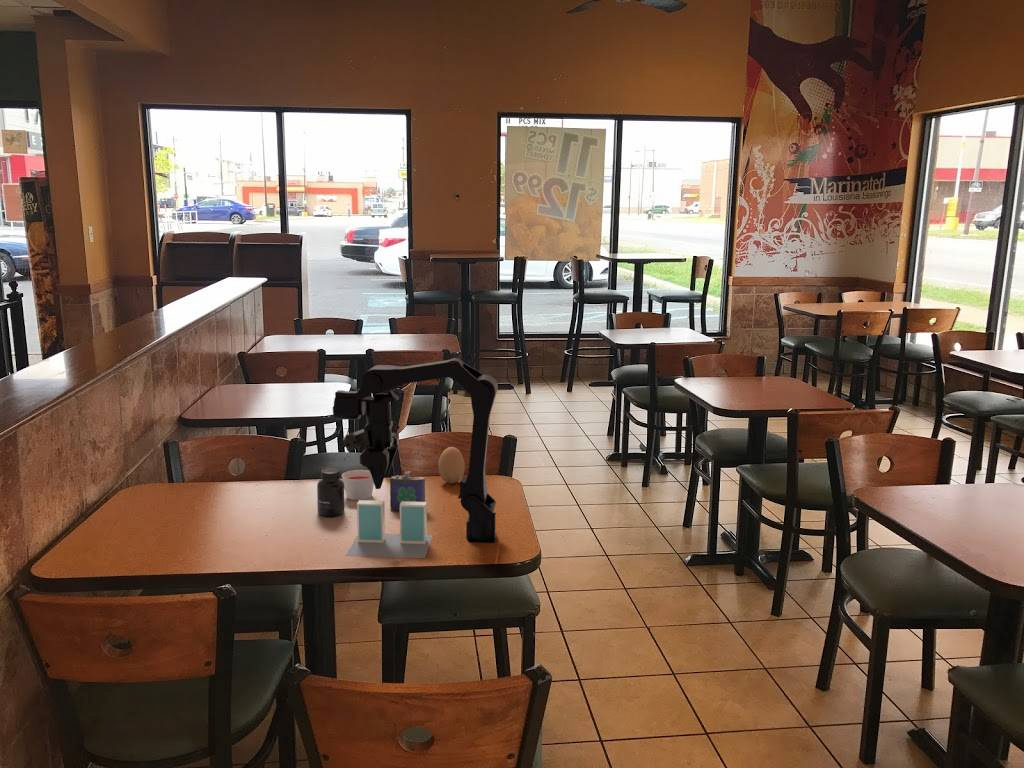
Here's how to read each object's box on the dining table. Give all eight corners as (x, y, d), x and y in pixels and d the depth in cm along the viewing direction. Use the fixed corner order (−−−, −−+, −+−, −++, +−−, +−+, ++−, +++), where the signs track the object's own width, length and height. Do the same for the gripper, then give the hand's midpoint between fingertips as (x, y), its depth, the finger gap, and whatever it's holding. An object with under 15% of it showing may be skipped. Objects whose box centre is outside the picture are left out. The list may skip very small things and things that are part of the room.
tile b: (385, 538, 206) (384, 500, 204) (383, 542, 204) (382, 504, 202) (360, 538, 206) (359, 500, 204) (357, 542, 204) (356, 503, 202)
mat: (432, 537, 209) (432, 535, 209) (424, 559, 195) (424, 557, 195) (358, 535, 210) (358, 533, 210) (345, 557, 196) (345, 555, 196)
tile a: (426, 540, 206) (426, 502, 204) (425, 544, 203) (425, 505, 201) (401, 539, 206) (401, 501, 204) (400, 543, 204) (399, 504, 202)
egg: (454, 477, 256) (454, 442, 254) (469, 484, 250) (470, 447, 248) (433, 482, 251) (433, 446, 249) (448, 489, 245) (448, 452, 243)
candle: (338, 494, 240) (338, 472, 239) (370, 490, 244) (370, 468, 242) (347, 503, 232) (346, 481, 231) (379, 499, 236) (379, 477, 234)
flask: (426, 509, 229) (425, 470, 227) (424, 512, 226) (423, 473, 224) (391, 508, 229) (390, 469, 227) (389, 512, 226) (388, 472, 224)
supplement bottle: (318, 520, 219) (317, 475, 217) (317, 511, 226) (315, 467, 223) (345, 518, 221) (344, 473, 219) (343, 509, 227) (342, 465, 225)
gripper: (353, 410, 214) (356, 471, 217) (335, 429, 195) (339, 495, 198) (398, 410, 213) (400, 471, 216) (385, 429, 195) (387, 495, 198)
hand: (381, 482), depth 207 cm, fingers open, 9 cm apart
